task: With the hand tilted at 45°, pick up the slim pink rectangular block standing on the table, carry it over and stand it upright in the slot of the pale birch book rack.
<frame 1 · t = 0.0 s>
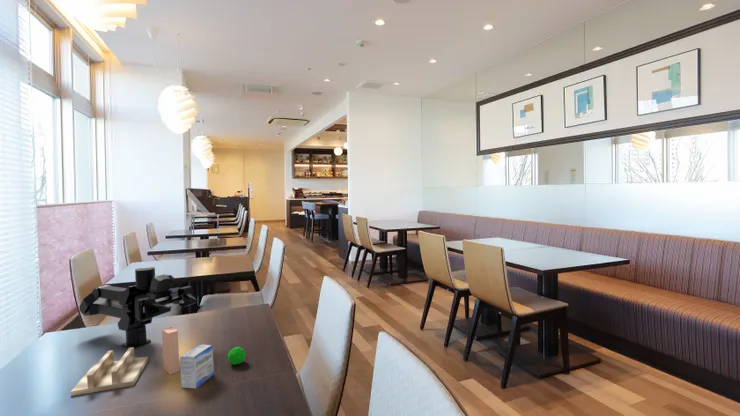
hand: (183, 305, 115), 17 cm above the table, tool horizontal, fingers open, 9 cm apart
pink rectangular block: (171, 370, 107), on the table
book rack: (113, 376, 104), on the table
polyhedron: (237, 364, 110), on the table
medicine box: (198, 382, 100), on the table
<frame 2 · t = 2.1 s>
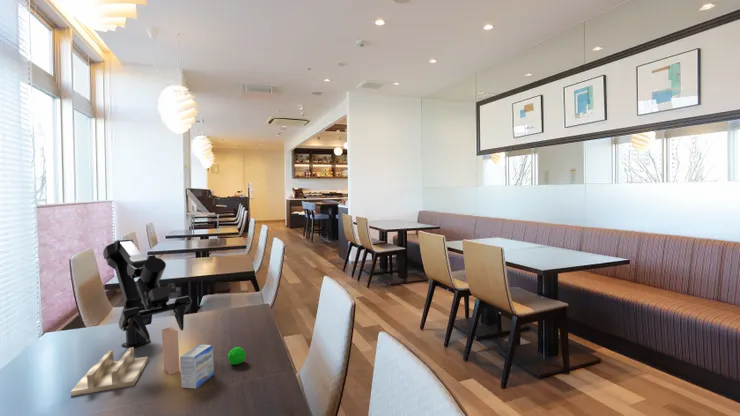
hand: (166, 334, 108), 10 cm above the table, tool tilted 45°, fingers open, 9 cm apart
nothing on the table moved.
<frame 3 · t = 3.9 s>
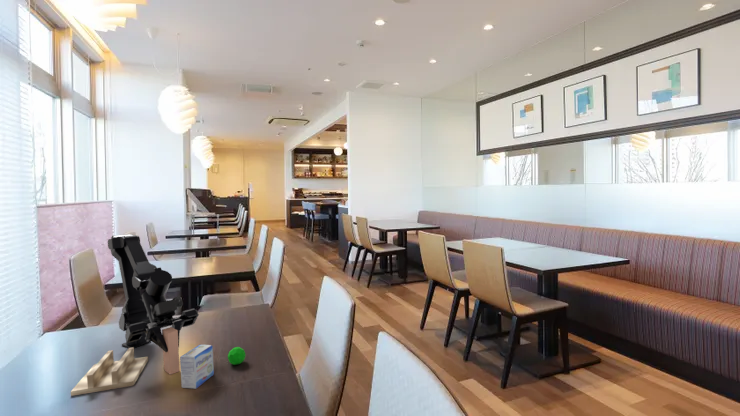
hand: (172, 349, 106), 7 cm above the table, tool tilted 45°, fingers closed on pink rectangular block, 3 cm apart
pink rectangular block: (171, 370, 107), on the table, touching gripper
everything else where it was.
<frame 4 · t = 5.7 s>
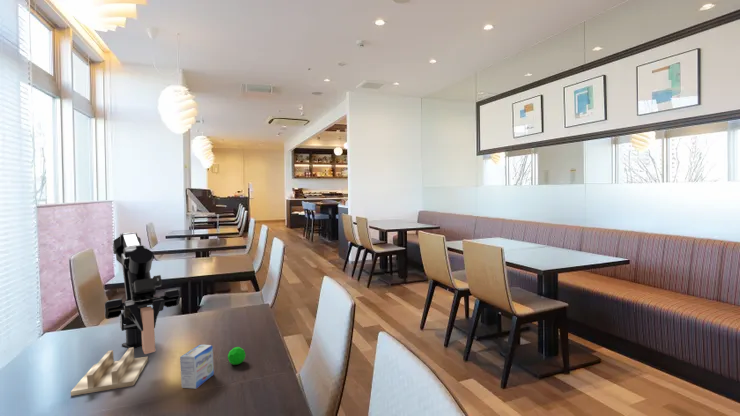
hand: (148, 329, 103), 14 cm above the table, tool tilted 45°, fingers closed on pink rectangular block, 3 cm apart
pink rectangular block: (148, 350, 105), point 7 cm above the table, touching gripper
everything else where it was.
when the fingers open (9 cm above the table, at t = 7.8 s): pink rectangular block drops 1 cm, resting on book rack.
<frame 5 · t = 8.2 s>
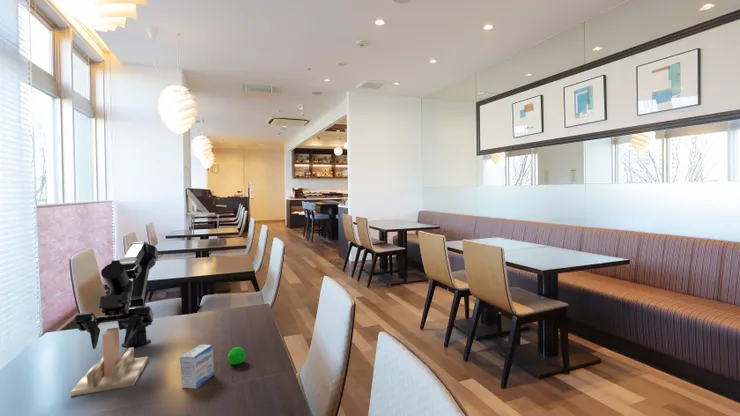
hand: (109, 346, 102), 9 cm above the table, tool tilted 45°, fingers open, 7 cm apart
pink rectangular block: (112, 372, 104), point 1 cm above the table, touching book rack
everything else where it was.
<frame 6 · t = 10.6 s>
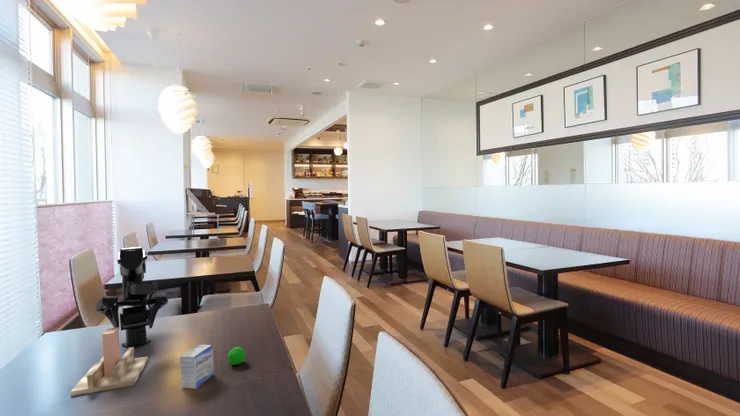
hand: (134, 329, 113), 10 cm above the table, tool tilted 35°, fingers open, 9 cm apart
nothing on the table moved.
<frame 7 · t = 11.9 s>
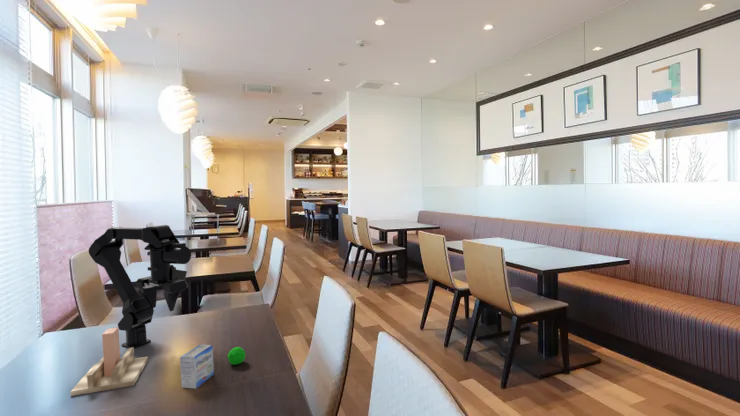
hand: (162, 309, 123), 13 cm above the table, tool pointing down, fingers open, 9 cm apart
nothing on the table moved.
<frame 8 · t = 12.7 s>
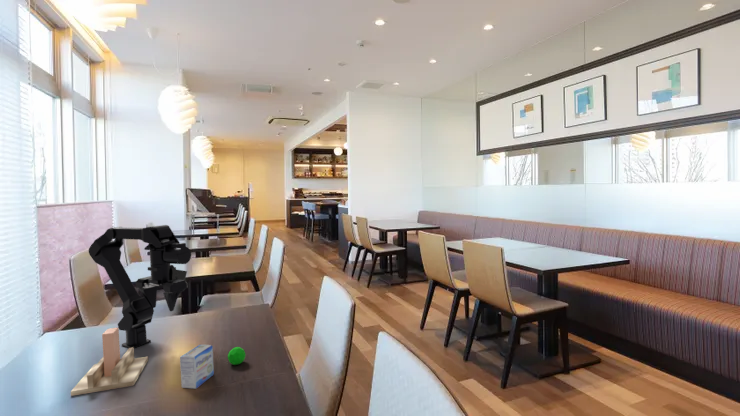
hand: (162, 309, 123), 13 cm above the table, tool pointing down, fingers open, 9 cm apart
nothing on the table moved.
at the end: pink rectangular block 0.0 cm off-centre on the book rack, point 1.2 cm above the book rack's base; pink rectangular block tilted 0°; the gripper is holding nothing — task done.
